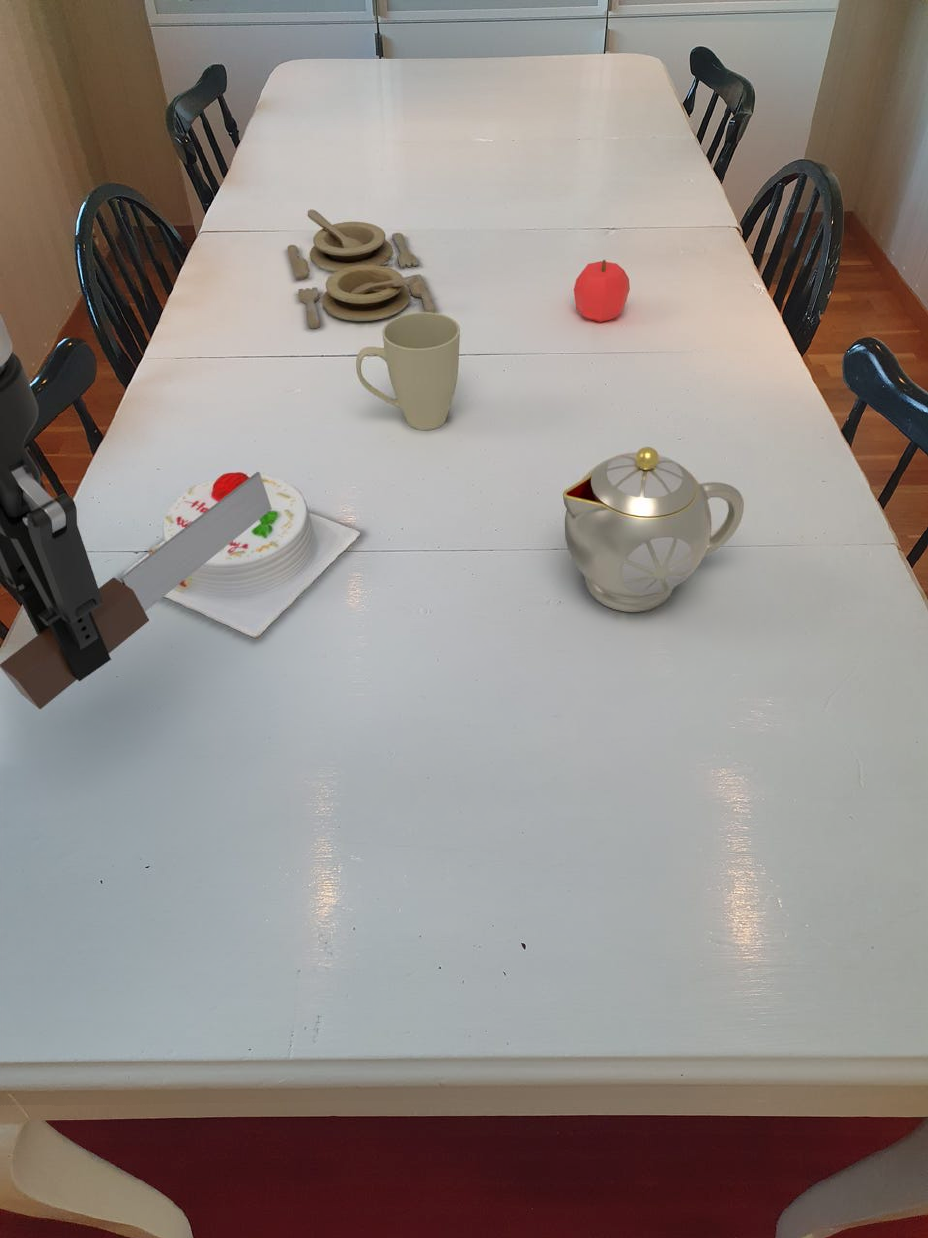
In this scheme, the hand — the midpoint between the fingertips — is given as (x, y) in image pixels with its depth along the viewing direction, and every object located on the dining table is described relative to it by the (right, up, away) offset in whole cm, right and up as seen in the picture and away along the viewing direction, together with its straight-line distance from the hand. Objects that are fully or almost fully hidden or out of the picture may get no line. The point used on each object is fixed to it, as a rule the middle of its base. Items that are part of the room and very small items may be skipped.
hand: (79, 657), depth 66 cm
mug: (+23, +27, +47) cm, 58 cm away
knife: (+5, +5, +4) cm, 8 cm away
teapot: (+46, +6, +25) cm, 53 cm away
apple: (+48, +47, +65) cm, 94 cm away
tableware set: (+12, +56, +75) cm, 94 cm away
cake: (+5, +9, +29) cm, 31 cm away
